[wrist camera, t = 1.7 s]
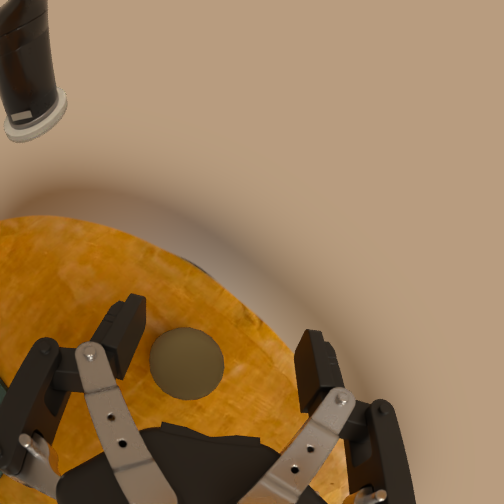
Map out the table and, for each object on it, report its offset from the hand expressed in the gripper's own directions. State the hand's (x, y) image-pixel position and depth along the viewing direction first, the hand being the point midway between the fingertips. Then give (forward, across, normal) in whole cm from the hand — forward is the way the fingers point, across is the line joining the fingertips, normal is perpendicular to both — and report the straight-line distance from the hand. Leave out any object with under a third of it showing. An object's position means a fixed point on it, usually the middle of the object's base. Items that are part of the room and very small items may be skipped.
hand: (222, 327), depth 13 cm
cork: (+8, +3, +13) cm, 16 cm away
